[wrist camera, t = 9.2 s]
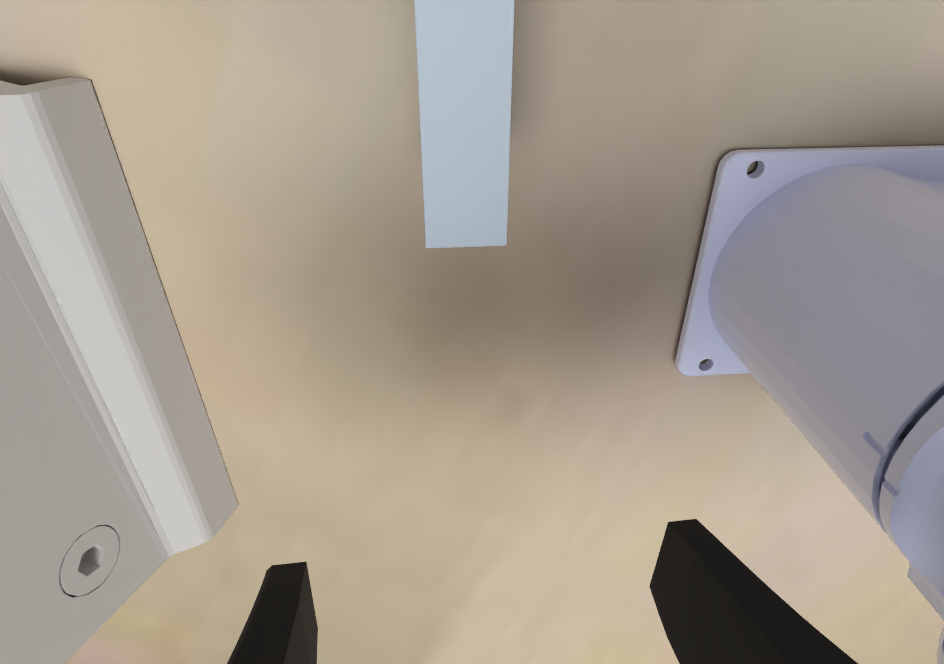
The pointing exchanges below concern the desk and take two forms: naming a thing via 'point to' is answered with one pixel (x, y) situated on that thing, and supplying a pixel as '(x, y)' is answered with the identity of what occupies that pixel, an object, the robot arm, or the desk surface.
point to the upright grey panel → (465, 119)
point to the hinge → (86, 386)
